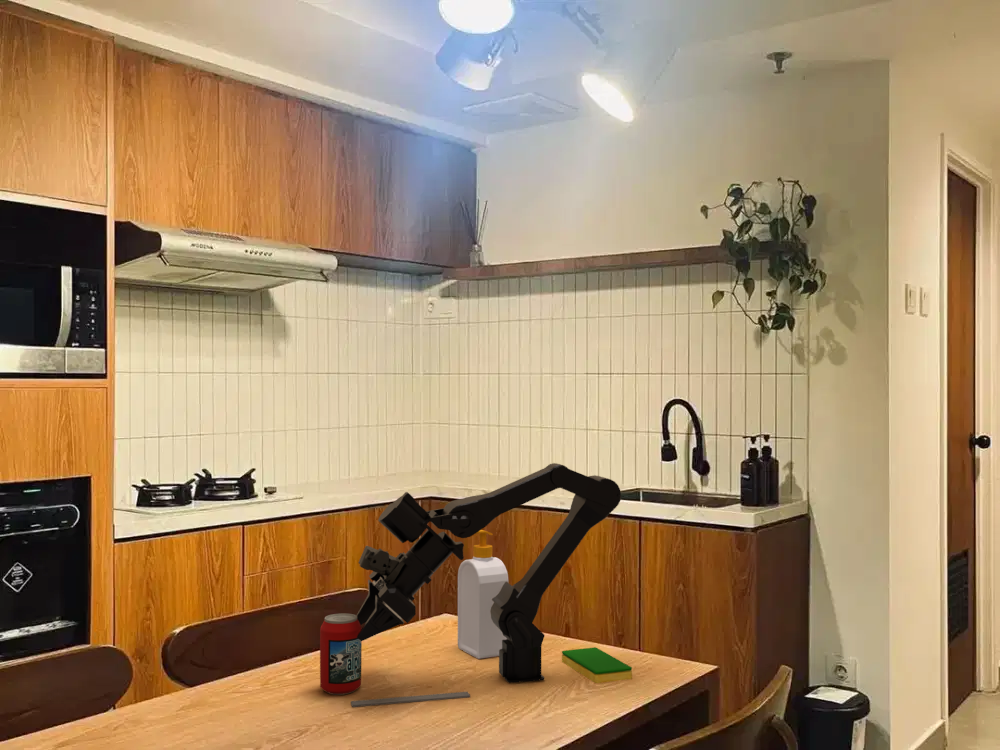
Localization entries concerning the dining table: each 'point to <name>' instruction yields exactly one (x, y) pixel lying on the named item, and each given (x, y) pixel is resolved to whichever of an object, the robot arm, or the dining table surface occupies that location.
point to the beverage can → (340, 654)
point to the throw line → (409, 699)
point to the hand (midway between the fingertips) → (356, 631)
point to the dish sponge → (596, 665)
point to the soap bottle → (479, 601)
